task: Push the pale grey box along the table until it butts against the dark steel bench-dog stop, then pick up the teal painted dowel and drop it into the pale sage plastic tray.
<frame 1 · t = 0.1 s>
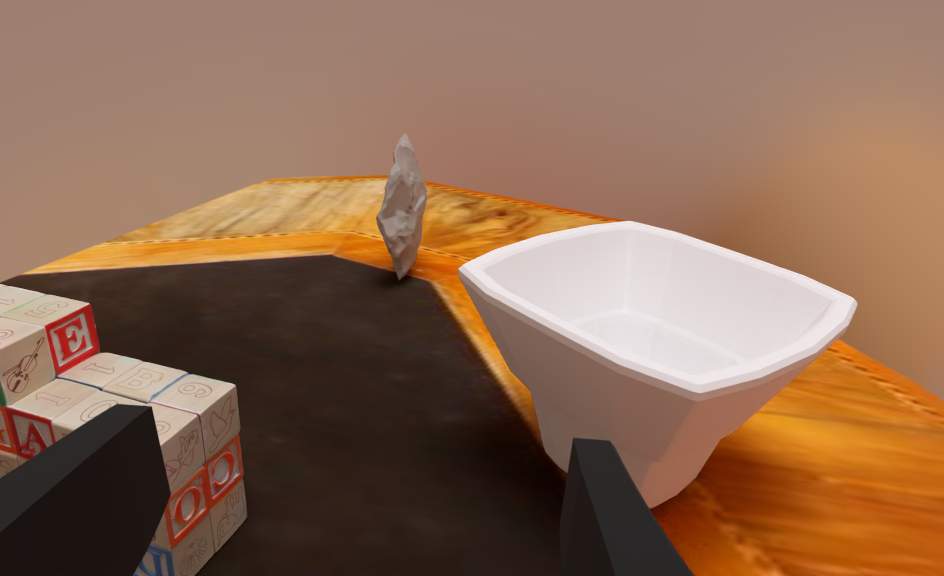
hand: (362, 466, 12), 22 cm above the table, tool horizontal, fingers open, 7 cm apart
stack of blocks: (65, 507, 40), on the table
bowl: (620, 471, 46), on the table
stone tool: (403, 278, 73), on the table
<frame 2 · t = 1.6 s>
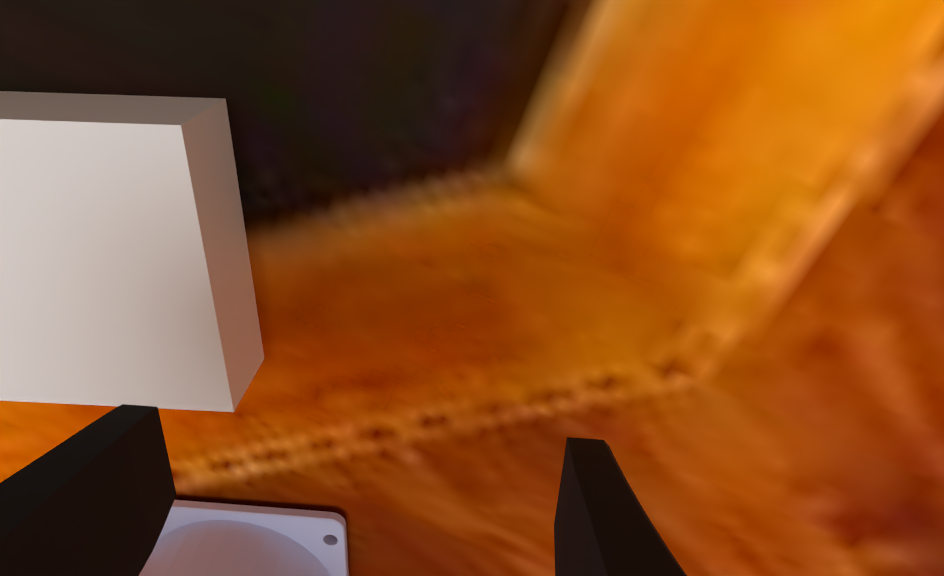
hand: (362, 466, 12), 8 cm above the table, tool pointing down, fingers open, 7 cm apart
pale grey box: (132, 231, 20), on the table
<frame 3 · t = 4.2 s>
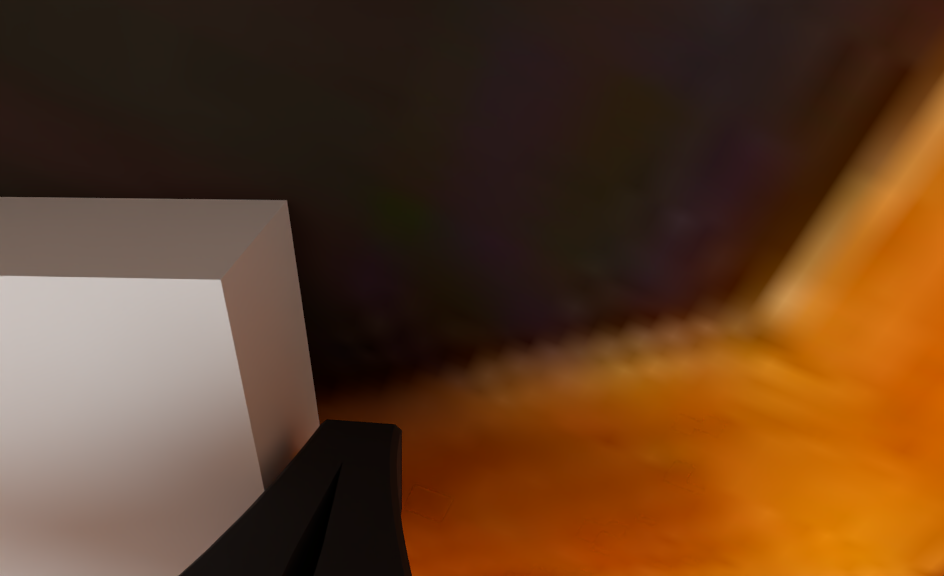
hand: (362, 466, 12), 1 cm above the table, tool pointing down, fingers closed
pale grey box: (141, 388, 13), on the table, touching gripper
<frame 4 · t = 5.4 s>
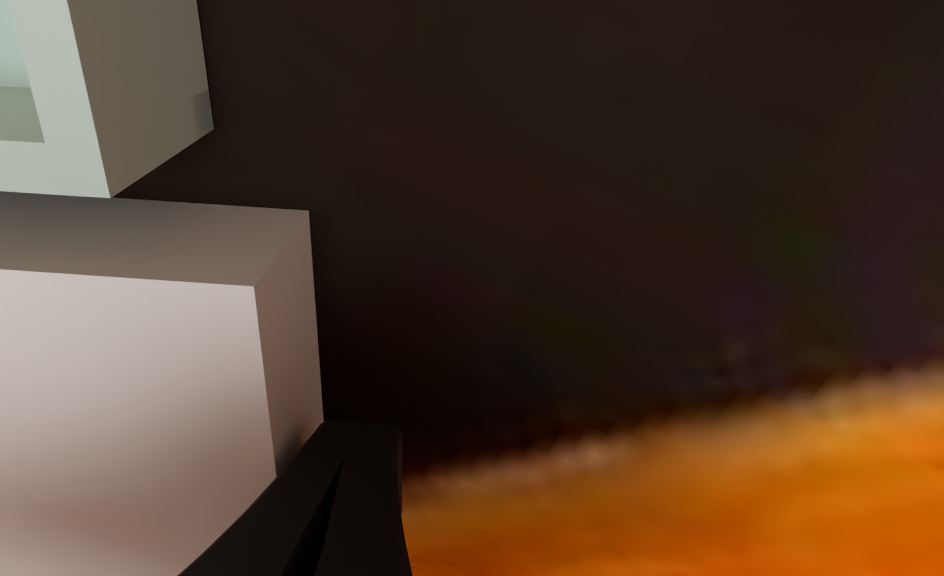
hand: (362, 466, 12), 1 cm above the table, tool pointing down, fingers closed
pale grey box: (149, 383, 13), on the table, touching gripper
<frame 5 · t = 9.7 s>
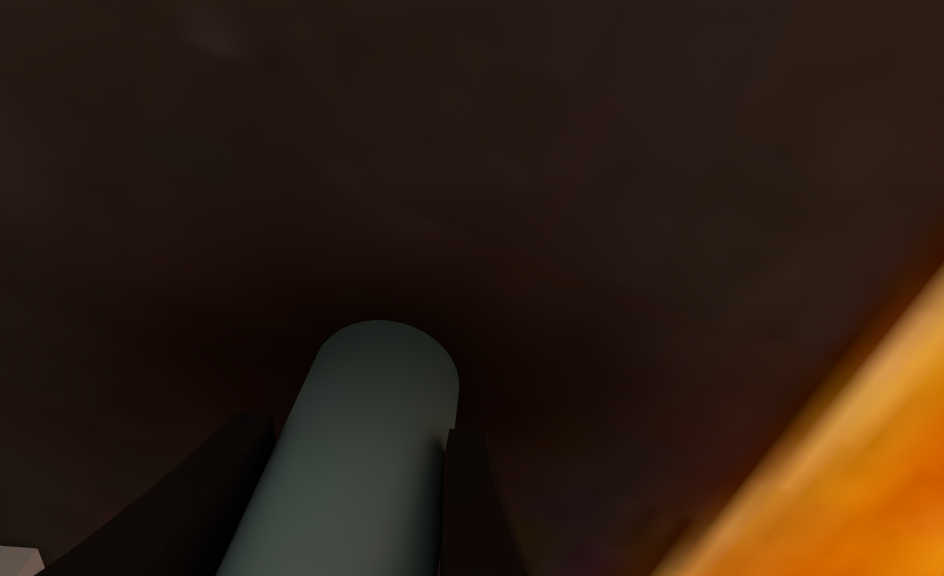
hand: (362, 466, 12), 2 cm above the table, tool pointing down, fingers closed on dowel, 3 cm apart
dowel: (385, 383, 14), on the table, touching gripper
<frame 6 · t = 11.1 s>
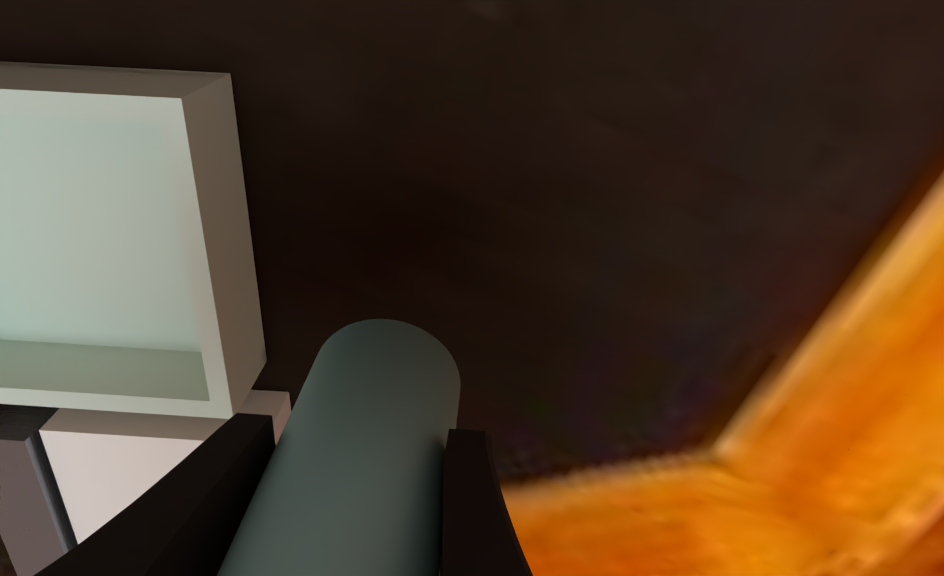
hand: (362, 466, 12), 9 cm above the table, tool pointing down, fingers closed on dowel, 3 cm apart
pale grey box: (209, 467, 25), on the table
tray: (98, 223, 20), on the table
bench dog: (79, 468, 25), on the table
dowel: (387, 382, 14), point 7 cm above the table, touching gripper
when the fingers open (5 cm above the table, at t = 12.9 s): dowel drops 2 cm, resting on tray.
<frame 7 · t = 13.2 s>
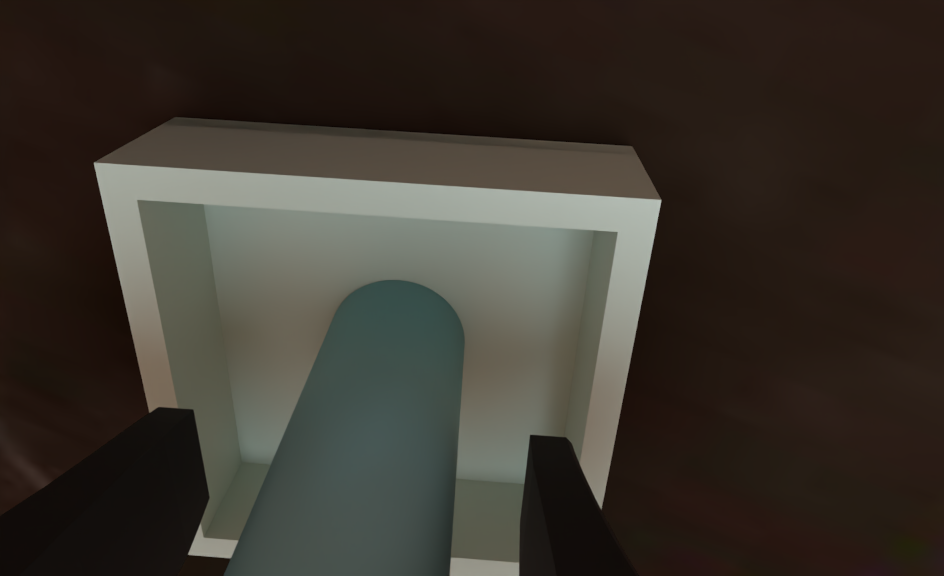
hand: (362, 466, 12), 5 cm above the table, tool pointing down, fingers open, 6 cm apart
tray: (401, 327, 16), on the table
dowel: (397, 340, 15), point 1 cm above the table, touching tray
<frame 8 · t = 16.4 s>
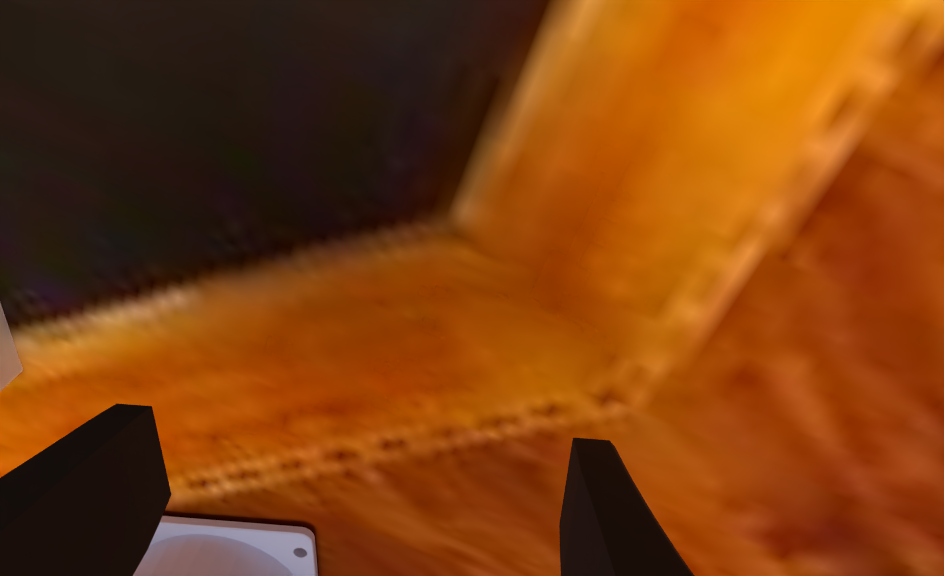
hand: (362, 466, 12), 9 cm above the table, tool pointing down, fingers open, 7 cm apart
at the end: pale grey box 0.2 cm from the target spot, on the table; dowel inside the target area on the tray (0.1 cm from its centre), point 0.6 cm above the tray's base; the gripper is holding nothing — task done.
